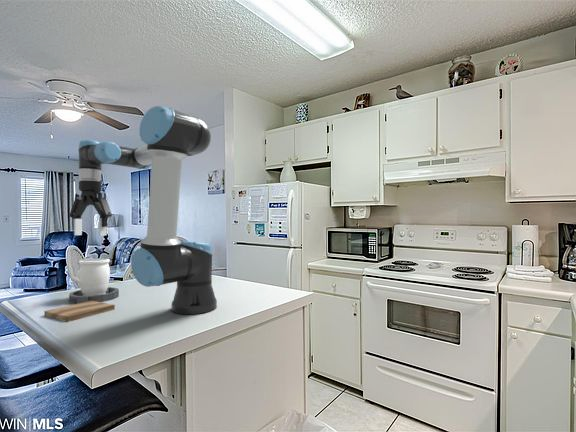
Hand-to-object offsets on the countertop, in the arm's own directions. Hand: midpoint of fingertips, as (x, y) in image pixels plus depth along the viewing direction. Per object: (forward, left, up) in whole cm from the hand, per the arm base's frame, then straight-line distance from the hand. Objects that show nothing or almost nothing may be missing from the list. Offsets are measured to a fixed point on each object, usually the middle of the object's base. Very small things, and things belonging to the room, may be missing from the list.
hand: (90, 235), depth 124 cm
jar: (-1, -2, -25) cm, 25 cm away
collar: (-1, -2, -25) cm, 25 cm away
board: (-16, +12, -25) cm, 32 cm away
